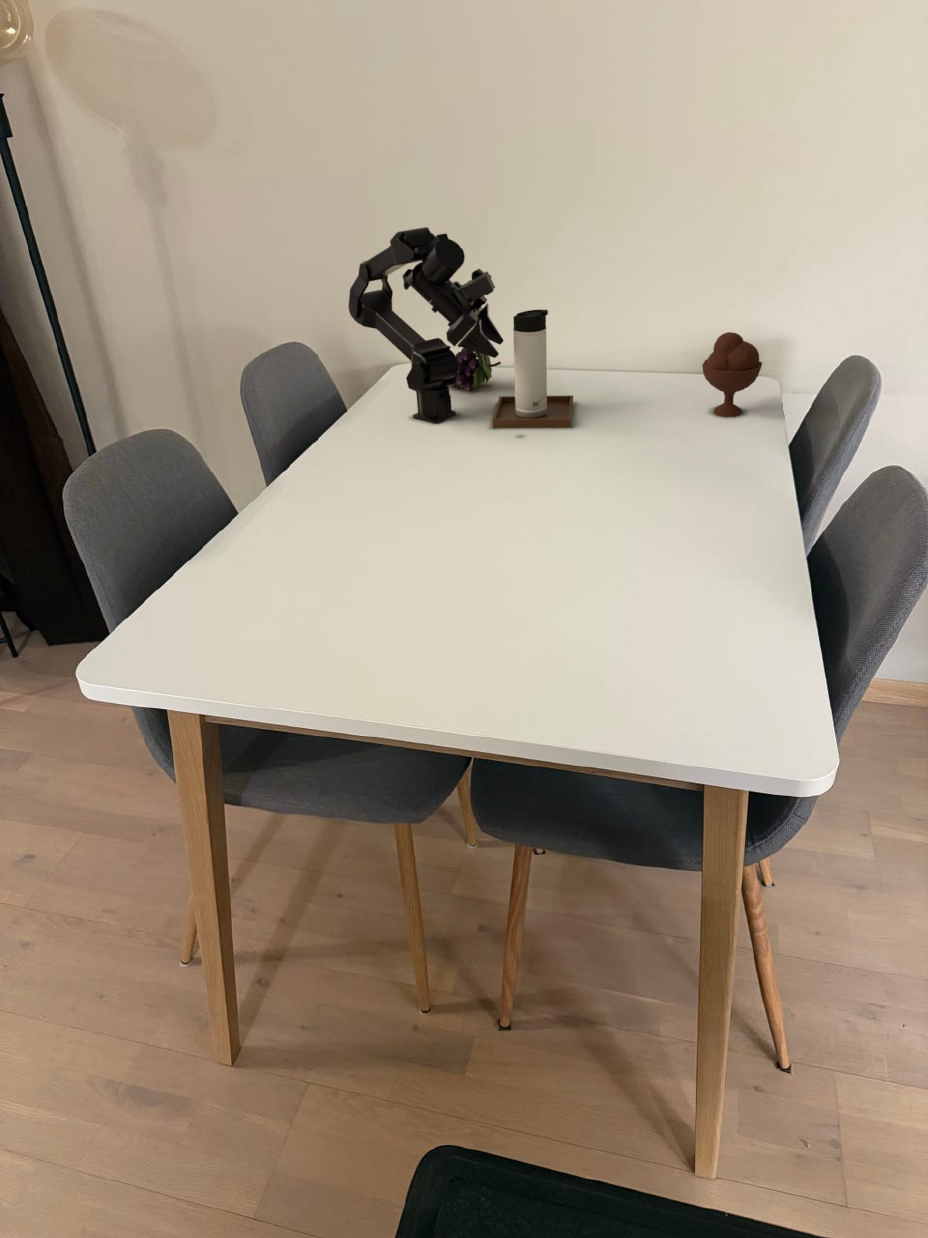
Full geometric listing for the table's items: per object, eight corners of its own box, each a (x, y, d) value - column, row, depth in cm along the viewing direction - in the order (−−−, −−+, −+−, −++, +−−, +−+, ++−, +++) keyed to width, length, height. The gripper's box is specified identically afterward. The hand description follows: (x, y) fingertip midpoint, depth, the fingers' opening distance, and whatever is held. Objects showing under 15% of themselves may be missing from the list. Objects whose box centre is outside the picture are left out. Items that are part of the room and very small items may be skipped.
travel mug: (543, 419, 177) (542, 314, 166) (511, 417, 179) (508, 313, 168) (552, 409, 182) (551, 306, 171) (520, 407, 184) (518, 305, 173)
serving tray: (492, 428, 176) (492, 419, 175) (499, 404, 188) (499, 396, 187) (571, 427, 173) (571, 419, 173) (573, 403, 185) (573, 395, 184)
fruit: (448, 395, 204) (511, 379, 199) (435, 402, 195) (501, 385, 190) (435, 349, 201) (499, 332, 196) (422, 355, 191) (489, 336, 187)
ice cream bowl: (694, 419, 173) (701, 340, 165) (704, 401, 182) (711, 325, 174) (752, 423, 170) (761, 343, 162) (759, 404, 178) (768, 327, 170)
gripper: (460, 268, 158) (524, 330, 162) (473, 248, 173) (532, 306, 177) (419, 315, 163) (483, 375, 167) (436, 292, 179) (494, 347, 183)
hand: (499, 349), depth 173 cm, fingers open, 9 cm apart
